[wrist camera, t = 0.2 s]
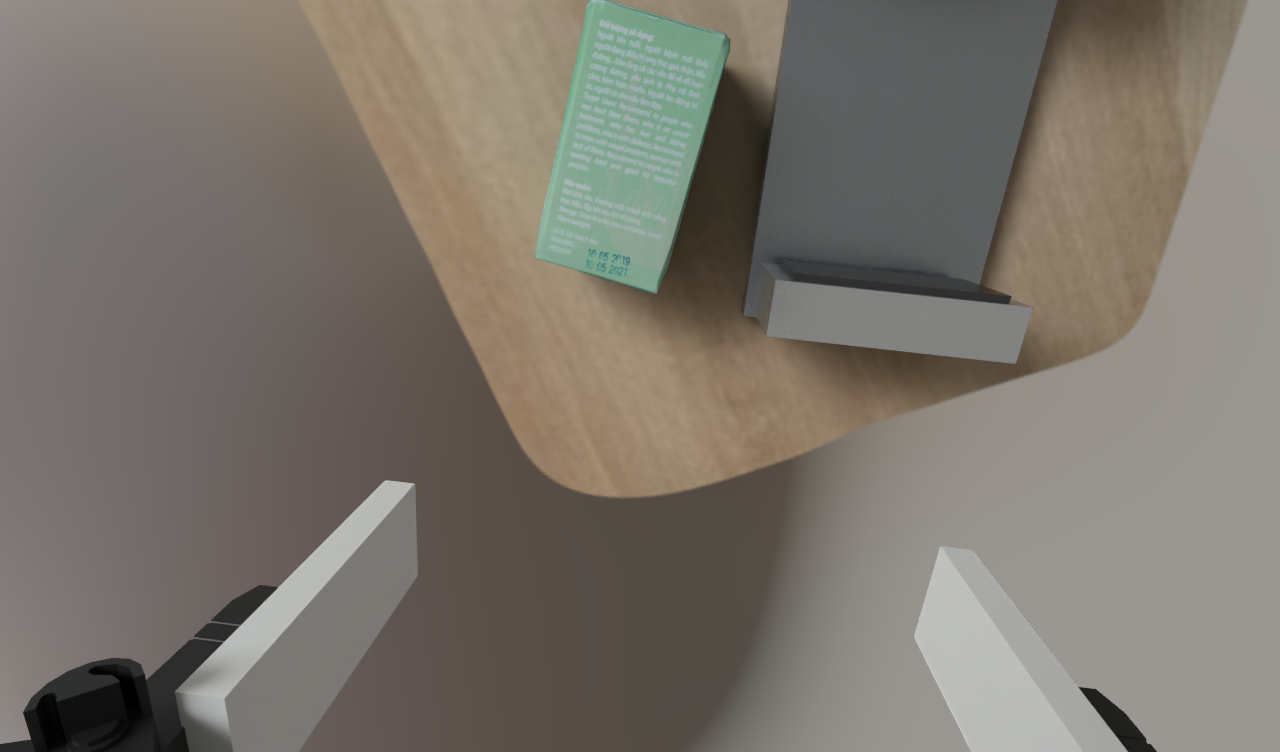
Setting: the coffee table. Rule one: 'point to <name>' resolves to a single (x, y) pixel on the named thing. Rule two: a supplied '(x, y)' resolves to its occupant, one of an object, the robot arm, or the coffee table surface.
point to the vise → (893, 174)
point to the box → (629, 143)
